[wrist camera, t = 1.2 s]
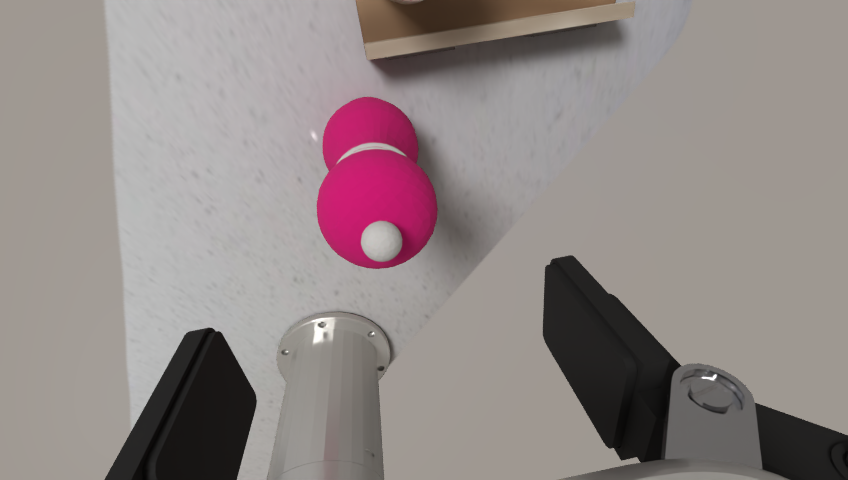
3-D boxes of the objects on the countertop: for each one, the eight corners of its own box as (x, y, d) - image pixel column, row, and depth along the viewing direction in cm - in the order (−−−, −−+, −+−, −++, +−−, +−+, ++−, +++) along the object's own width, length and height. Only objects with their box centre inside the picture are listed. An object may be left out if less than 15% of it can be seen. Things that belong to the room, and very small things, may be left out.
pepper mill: (427, 141, 34) (499, 257, 17) (365, 190, 35) (373, 344, 18) (374, 71, 31) (396, 125, 13) (308, 128, 32) (249, 245, 15)
